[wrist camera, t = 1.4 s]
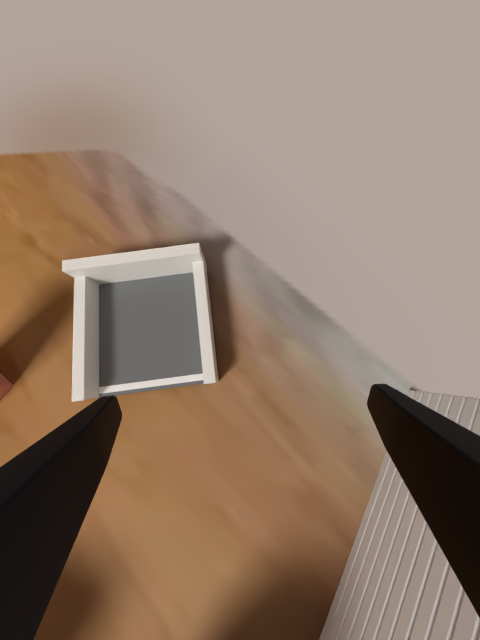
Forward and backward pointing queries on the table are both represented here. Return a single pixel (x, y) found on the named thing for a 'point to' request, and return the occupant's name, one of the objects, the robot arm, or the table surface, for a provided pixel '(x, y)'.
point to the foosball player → (4, 385)
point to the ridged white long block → (403, 561)
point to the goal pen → (141, 322)
